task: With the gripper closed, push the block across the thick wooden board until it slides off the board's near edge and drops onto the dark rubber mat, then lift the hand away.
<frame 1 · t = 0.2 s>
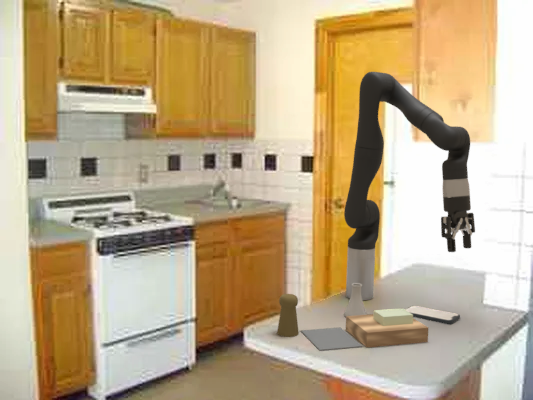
hand: (459, 250, 173), 22 cm above the countertop, tool pointing down, fingers open, 8 cm apart
pepper mill: (287, 333, 165), on the countertop
mat: (330, 338, 161), on the countertop
board: (385, 335, 164), on the countertop
block: (392, 316, 164), point 5 cm above the countertop, touching board
flask: (355, 316, 181), on the countertop
phone case: (430, 317, 183), on the countertop
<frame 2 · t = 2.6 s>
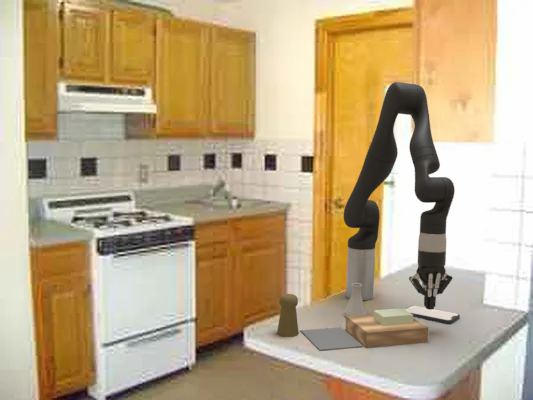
hand: (429, 308, 167), 7 cm above the countertop, tool pointing down, fingers closed
nothing on the countertop moved.
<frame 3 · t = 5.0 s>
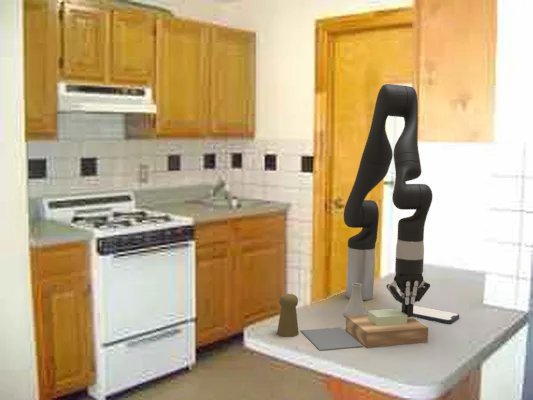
hand: (407, 316, 165), 5 cm above the countertop, tool pointing down, fingers closed
block: (387, 317, 164), point 5 cm above the countertop, touching gripper
everything else where it was.
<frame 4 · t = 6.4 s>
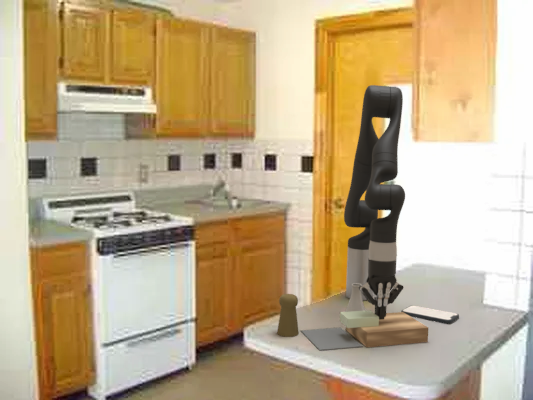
hand: (380, 318, 163), 5 cm above the countertop, tool pointing down, fingers closed
block: (359, 318, 162), point 5 cm above the countertop, touching gripper
everything else where it was.
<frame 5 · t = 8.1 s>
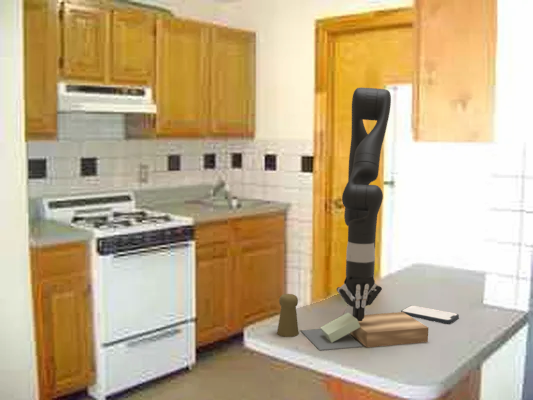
hand: (358, 320, 161), 5 cm above the countertop, tool pointing down, fingers closed
block: (340, 327, 161), point 3 cm above the countertop, tilted 24°, touching gripper, mat
everything else where it was.
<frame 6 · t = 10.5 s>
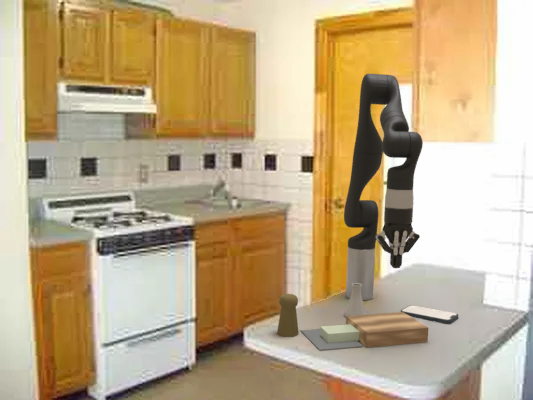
hand: (395, 267, 163), 19 cm above the countertop, tool pointing down, fingers closed
block: (339, 333, 161), point 2 cm above the countertop, touching mat
everything else where it was.
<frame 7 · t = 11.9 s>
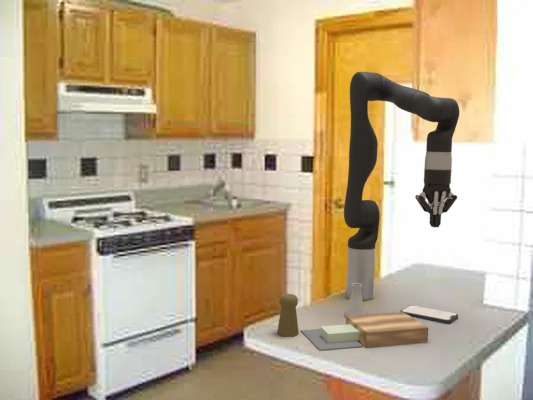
hand: (434, 226, 172), 29 cm above the countertop, tool pointing down, fingers closed
nothing on the countertop moved.
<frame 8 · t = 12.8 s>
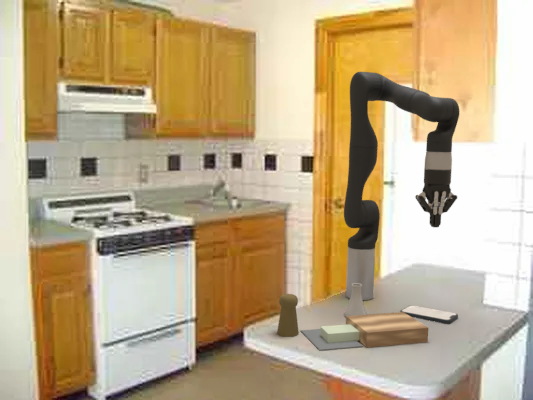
hand: (434, 226, 172), 29 cm above the countertop, tool pointing down, fingers closed
nothing on the countertop moved.
at the end: block point 1.5 cm above the countertop; block inside the target area on the mat (2.5 cm from its centre), point 1.5 cm above the mat's base; block touching mat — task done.
